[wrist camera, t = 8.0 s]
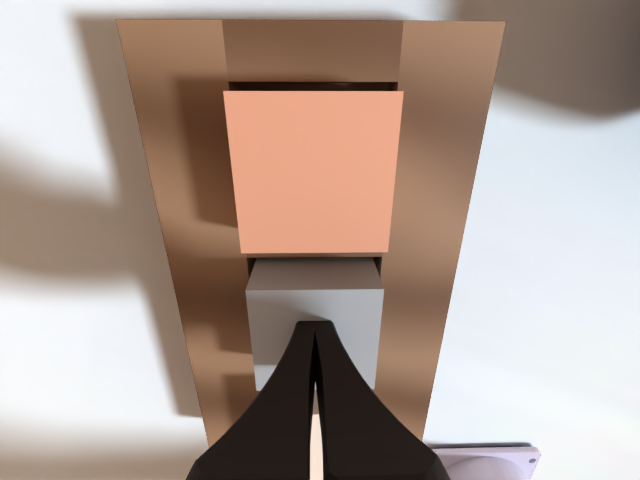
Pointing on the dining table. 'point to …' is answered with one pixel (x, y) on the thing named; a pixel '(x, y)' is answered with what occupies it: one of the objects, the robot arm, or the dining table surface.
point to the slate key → (314, 307)
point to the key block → (235, 267)
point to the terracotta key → (313, 169)
